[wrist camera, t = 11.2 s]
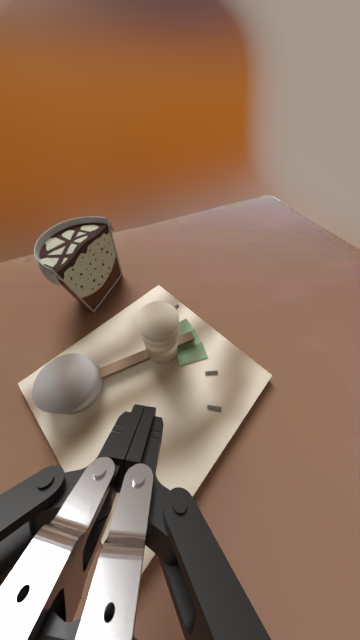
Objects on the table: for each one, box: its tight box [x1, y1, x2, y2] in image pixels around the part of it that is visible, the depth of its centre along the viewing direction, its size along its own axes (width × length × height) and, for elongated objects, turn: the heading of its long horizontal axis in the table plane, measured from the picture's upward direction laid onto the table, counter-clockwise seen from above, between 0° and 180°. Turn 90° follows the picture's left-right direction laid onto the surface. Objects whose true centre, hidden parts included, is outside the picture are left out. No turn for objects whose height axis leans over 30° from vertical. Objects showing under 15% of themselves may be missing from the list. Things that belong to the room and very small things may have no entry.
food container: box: [34, 216, 122, 313], centre depth 26 cm, size 12×6×10 cm, turn 161°
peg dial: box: [32, 301, 195, 414], centre depth 18 cm, size 18×6×8 cm, turn 115°
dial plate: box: [18, 285, 272, 575], centre depth 22 cm, size 22×23×1 cm
